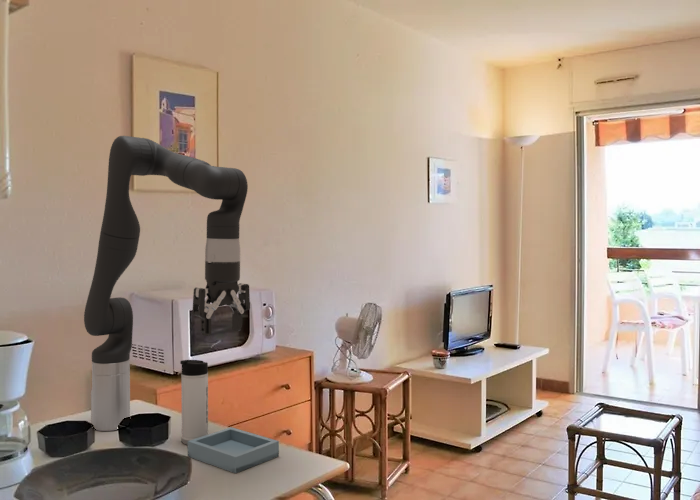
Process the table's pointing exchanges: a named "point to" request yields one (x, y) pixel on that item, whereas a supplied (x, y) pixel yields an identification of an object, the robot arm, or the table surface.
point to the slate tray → (233, 449)
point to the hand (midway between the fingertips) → (221, 332)
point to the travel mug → (194, 399)
